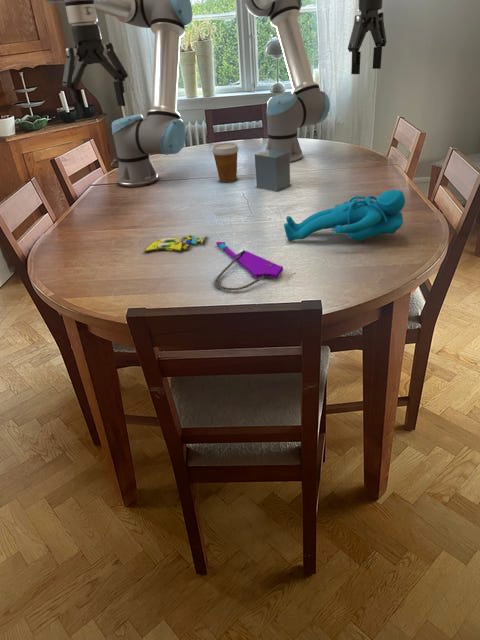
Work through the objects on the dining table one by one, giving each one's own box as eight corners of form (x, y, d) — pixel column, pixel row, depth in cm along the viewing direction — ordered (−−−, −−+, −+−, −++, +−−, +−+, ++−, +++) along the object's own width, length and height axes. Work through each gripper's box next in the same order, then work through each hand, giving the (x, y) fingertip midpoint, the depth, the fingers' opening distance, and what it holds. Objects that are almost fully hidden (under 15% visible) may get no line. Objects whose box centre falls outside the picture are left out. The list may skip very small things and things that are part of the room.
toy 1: (199, 248, 125) (143, 249, 127) (199, 251, 125) (144, 252, 127) (206, 233, 133) (154, 234, 135) (206, 236, 133) (154, 237, 136)
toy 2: (287, 204, 132) (400, 176, 122) (297, 239, 137) (406, 215, 127) (278, 228, 119) (405, 199, 108) (290, 266, 124) (412, 242, 113)
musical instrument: (257, 302, 103) (298, 254, 115) (255, 294, 102) (297, 246, 114) (172, 286, 116) (218, 244, 128) (170, 279, 114) (216, 237, 127)
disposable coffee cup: (210, 183, 175) (207, 149, 168) (221, 175, 182) (218, 142, 175) (235, 184, 171) (232, 149, 165) (244, 176, 178) (242, 142, 172)
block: (277, 191, 161) (275, 157, 155) (256, 187, 167) (254, 154, 161) (290, 185, 166) (289, 152, 160) (269, 181, 171) (268, 149, 165)
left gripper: (48, 27, 118) (72, 119, 130) (130, 20, 133) (144, 102, 145) (34, 29, 123) (57, 117, 134) (114, 21, 137) (129, 101, 149)
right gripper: (359, -4, 141) (356, 76, 152) (400, -7, 156) (394, 66, 167) (338, -2, 146) (336, 76, 157) (379, -5, 160) (375, 66, 172)
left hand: (102, 110), depth 139 cm, fingers open, 13 cm apart
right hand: (366, 71), depth 162 cm, fingers open, 13 cm apart
